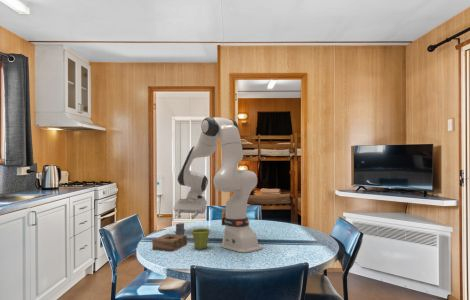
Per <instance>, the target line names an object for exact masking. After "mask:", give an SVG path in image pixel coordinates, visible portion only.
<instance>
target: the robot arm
mask: <svg viewBox="0 0 470 300" xmlns="http://www.w3.org/2000/svg"><path fill="white" fill-rule="evenodd" d="M200 128H201V132H200V134H199V138H198V142H197V144H196V145H195V146H192V147H191V148H190V150H189V152H188V154H187V156H186V158H185V160H184V163H183V165H182V167H181V170H180V171H179V173H178V175H177V182H178V184H179V185H180V186H185V187H188V188H189V191H188V193H187V194H186V197H185V198H179V199H177V201H176V202H175V204H174V206H173V210H174V212H175V213H177V216H176V217H177V219H181V217H182V215H181V214H183V213H184V214H192V215H191V220H195V219H196V218H197V216H198V215H199V214H201V215H203V214H205V212H206V209H207V204H208V202H207V199H206V198H205V196H204V195H203V194H204V192H205V191H206V189H207V186H208V184H209V179H208V177H207V176H206V175H205V174H202V173H198V172H196V171H192V170H190V167H191V165H192V163H193V161H194V159H196V158H197V159H198V158H207V157H210V156H212V155H213V154H214V153H215V152H216V149H217V145H218V140H219V139H220V147H221V158H222V160H221V166H220V169H219V170H218V171H217V172H216V173H215V175H214V177H213V182H212V183H213V187H214V188H215V190H217V191H219V192H224V193H230V192H233V194H232V195H231V197H230V198H228V200H227V201H226V203H225V207H226V217H225V225H224V226H225V227H224V229H223V234H222V243H221V244H220V248H222V249H223V248H224V249H227V250H231V251H234V252H238V253H250V252H251V253H252V252H256V251H259V250H262V249H263V245H261V244H260V243H258V235H257V233H256V232H254V230H253V229H252V228H251V227H250V223H251V222H250V220H249V219H248V215H247V213H248V209H247V208H248V201H249V197H250V195H251V192H252V191H253V190H254V189H255V188H256V186H257V184H258V176H257V174H256V173H255V172H254V171H252V170H246V169H239V170H238V169H237V168H238V164H239V163H240V162H241V161H243V158H244V152H243V146H242V139H241V135H240V131H239V124H238V122H237V121H236V120H234V119H231V118H225V117H213V116H208V117H205V118H204V119H203V120H202V123H201V126H200Z"/></svg>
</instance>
